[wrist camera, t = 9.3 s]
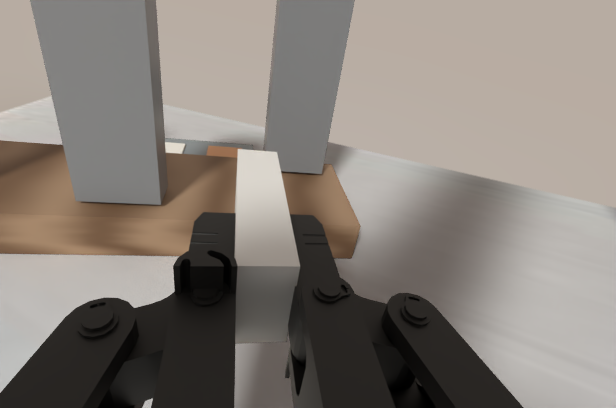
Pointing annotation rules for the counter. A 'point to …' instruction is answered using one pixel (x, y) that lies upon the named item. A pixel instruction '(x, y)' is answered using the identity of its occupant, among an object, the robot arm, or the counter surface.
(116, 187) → the key middle
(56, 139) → the counter surface
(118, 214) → the brown wooden board
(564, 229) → the counter surface
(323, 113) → the key inner
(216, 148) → the pattern card
